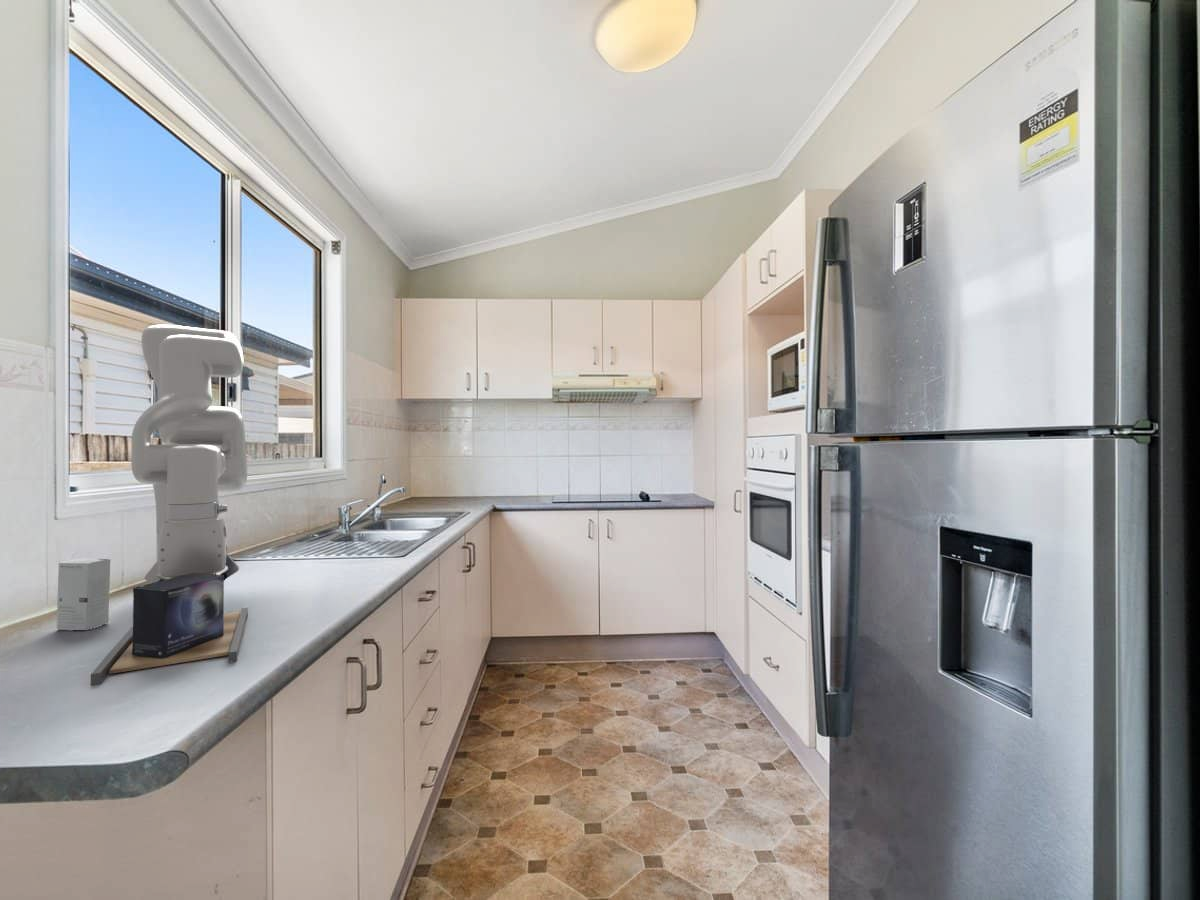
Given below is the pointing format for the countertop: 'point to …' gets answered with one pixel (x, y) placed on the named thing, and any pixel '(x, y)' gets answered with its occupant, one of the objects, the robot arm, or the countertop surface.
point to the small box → (177, 614)
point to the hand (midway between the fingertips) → (194, 610)
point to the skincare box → (83, 593)
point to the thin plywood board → (198, 652)
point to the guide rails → (125, 642)
